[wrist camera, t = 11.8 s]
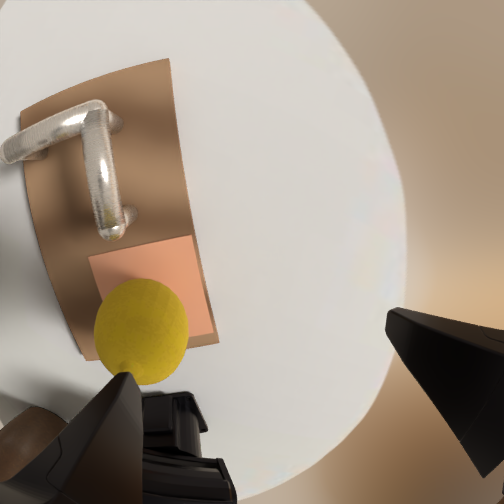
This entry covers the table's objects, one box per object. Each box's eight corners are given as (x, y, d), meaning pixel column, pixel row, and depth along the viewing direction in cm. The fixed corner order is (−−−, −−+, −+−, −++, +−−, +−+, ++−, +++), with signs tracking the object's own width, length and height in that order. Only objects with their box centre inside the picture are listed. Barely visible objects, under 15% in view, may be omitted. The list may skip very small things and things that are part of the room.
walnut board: (218, 335, 21) (219, 342, 20) (89, 354, 20) (86, 361, 19) (169, 63, 15) (168, 58, 14) (26, 113, 13) (20, 111, 12)
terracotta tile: (213, 331, 20) (213, 332, 20) (122, 345, 19) (121, 347, 19) (191, 234, 18) (191, 234, 17) (89, 256, 17) (87, 257, 16)
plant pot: (-13, 382, 18) (-55, 464, 3) (55, 379, 20) (9, 504, 5) (49, 452, 23) (32, 529, 8) (123, 456, 25) (119, 556, 10)
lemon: (107, 314, 18) (72, 388, 10) (126, 248, 17) (83, 304, 9) (174, 340, 19) (170, 422, 12) (201, 279, 18) (206, 351, 11)
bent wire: (143, 222, 17) (125, 241, 12) (51, 245, 16) (17, 268, 11) (125, 110, 14) (101, 92, 10) (33, 144, 13) (-6, 142, 9)
